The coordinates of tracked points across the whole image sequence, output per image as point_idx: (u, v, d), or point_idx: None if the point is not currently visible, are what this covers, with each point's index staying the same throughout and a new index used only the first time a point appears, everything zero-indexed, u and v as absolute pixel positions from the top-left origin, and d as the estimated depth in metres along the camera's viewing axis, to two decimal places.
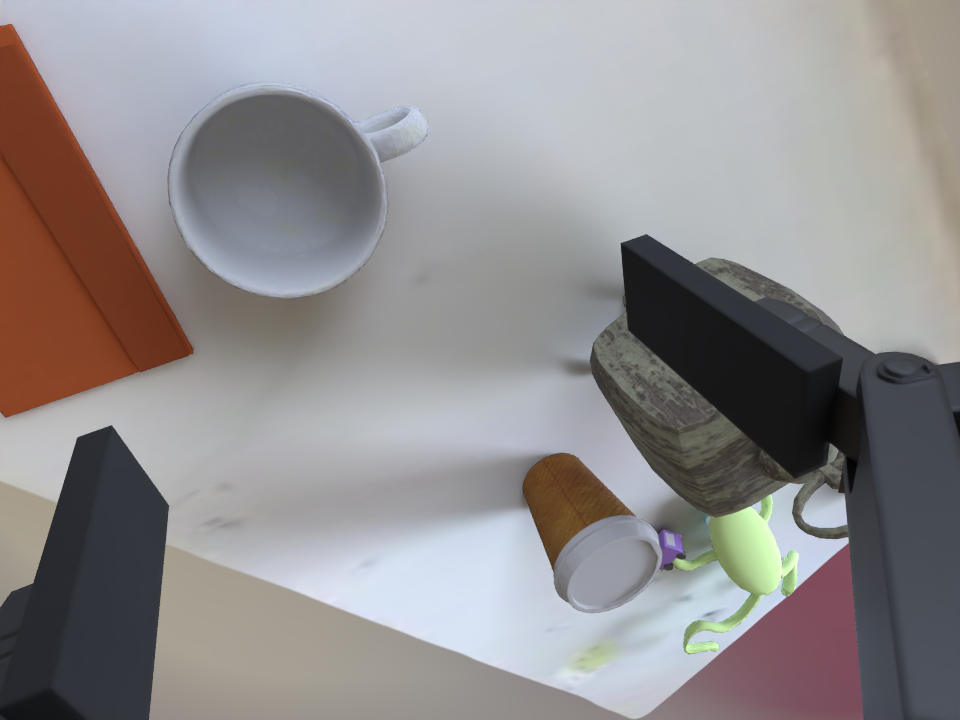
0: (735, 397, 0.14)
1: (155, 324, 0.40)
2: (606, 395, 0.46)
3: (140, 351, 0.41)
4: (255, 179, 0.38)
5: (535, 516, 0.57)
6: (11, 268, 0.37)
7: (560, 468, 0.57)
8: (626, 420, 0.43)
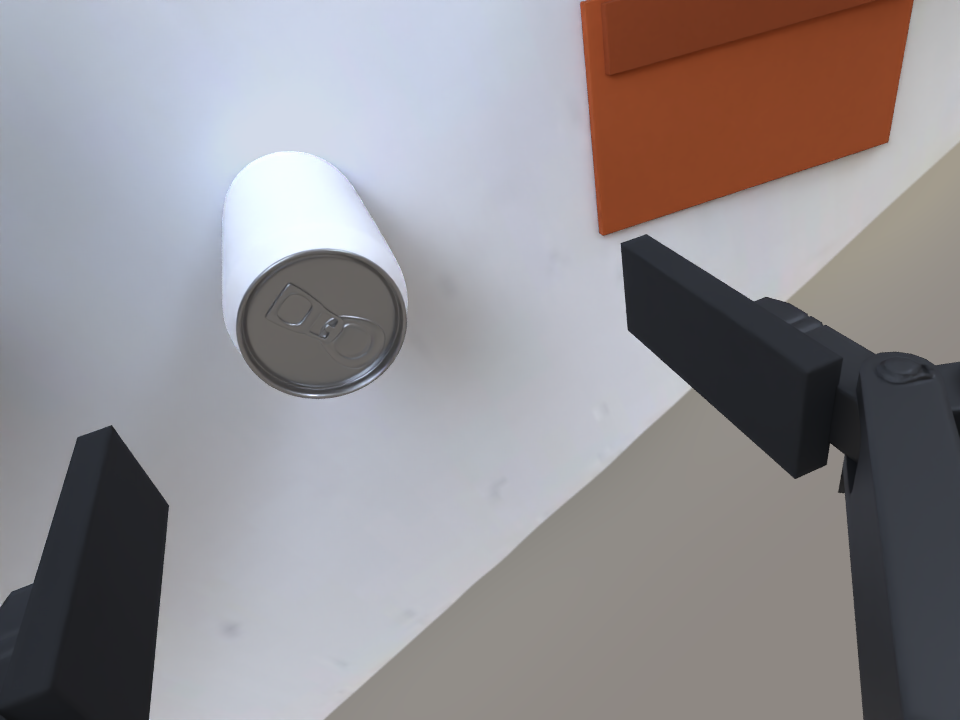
0: (735, 397, 0.14)
1: None
2: None
3: None
4: None
5: None
6: (776, 85, 0.36)
7: None
8: None
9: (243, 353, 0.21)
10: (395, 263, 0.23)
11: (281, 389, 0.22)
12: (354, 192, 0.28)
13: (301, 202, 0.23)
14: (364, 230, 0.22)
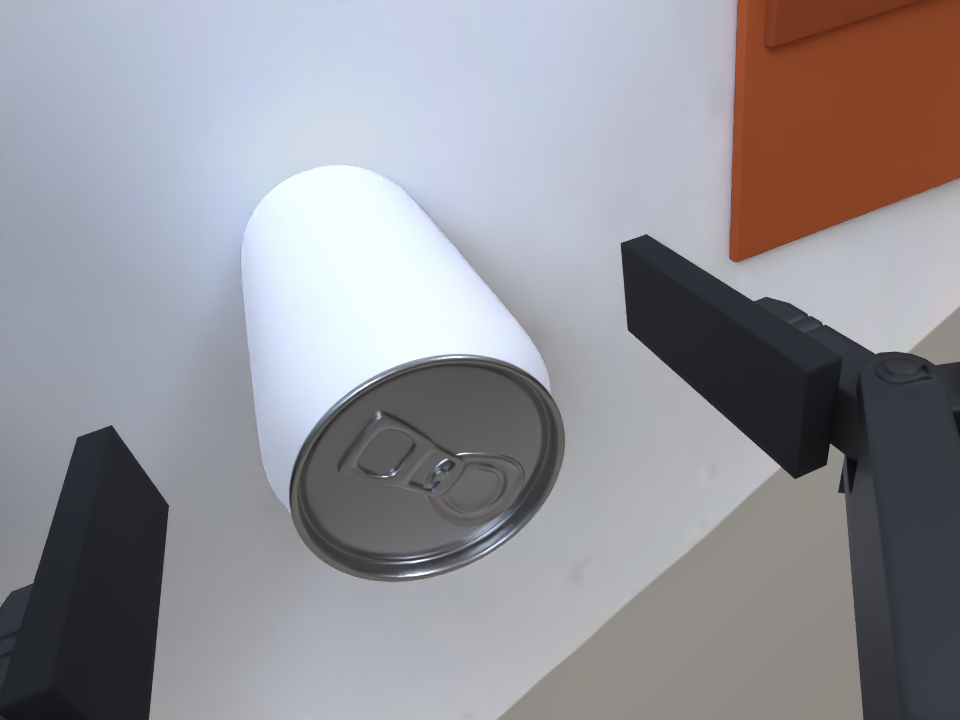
0: (735, 396, 0.14)
1: None
2: None
3: None
4: None
5: None
6: None
7: None
8: None
9: (301, 532, 0.12)
10: (539, 356, 0.14)
11: (360, 573, 0.13)
12: None
13: (382, 260, 0.14)
14: (492, 307, 0.13)
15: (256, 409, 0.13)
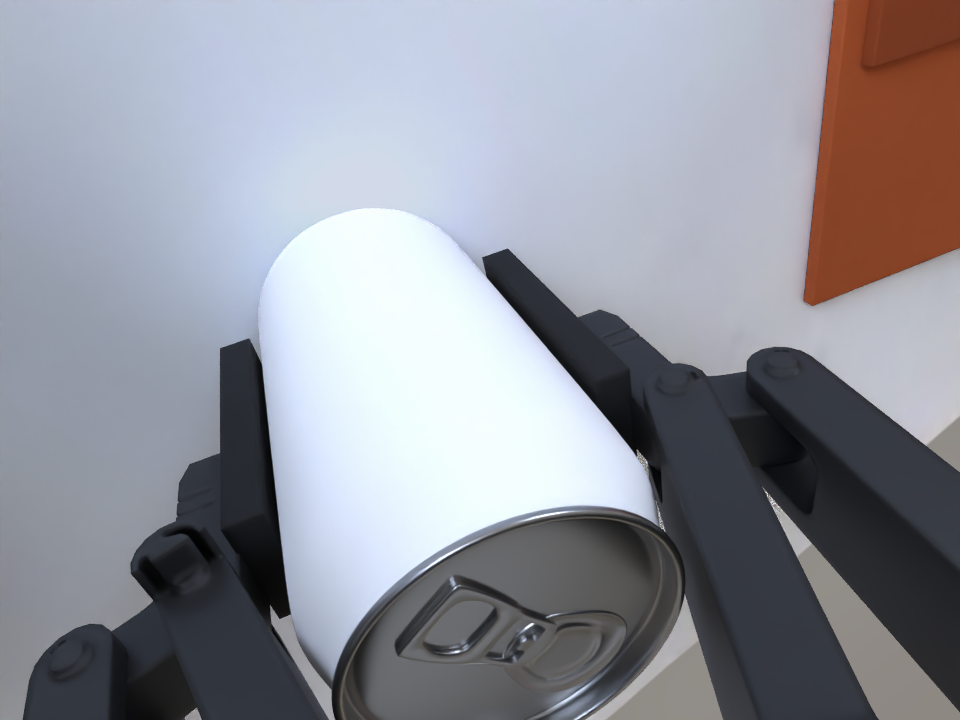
0: None
1: None
2: None
3: None
4: None
5: None
6: None
7: None
8: None
9: None
10: (647, 478, 0.11)
11: None
12: None
13: (444, 352, 0.11)
14: (592, 419, 0.10)
15: (284, 548, 0.10)
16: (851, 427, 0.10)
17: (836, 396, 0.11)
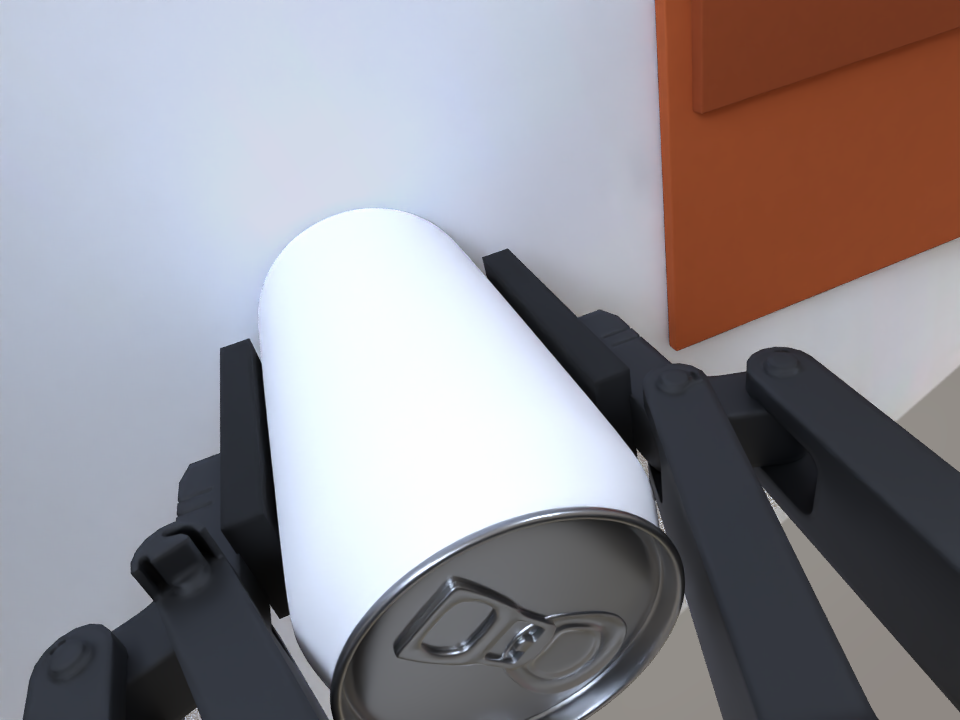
0: None
1: None
2: None
3: None
4: None
5: None
6: (949, 114, 0.23)
7: None
8: None
9: None
10: (647, 478, 0.11)
11: None
12: (491, 283, 0.16)
13: (443, 354, 0.11)
14: (591, 420, 0.10)
15: (283, 549, 0.10)
16: (851, 427, 0.10)
17: (837, 396, 0.11)
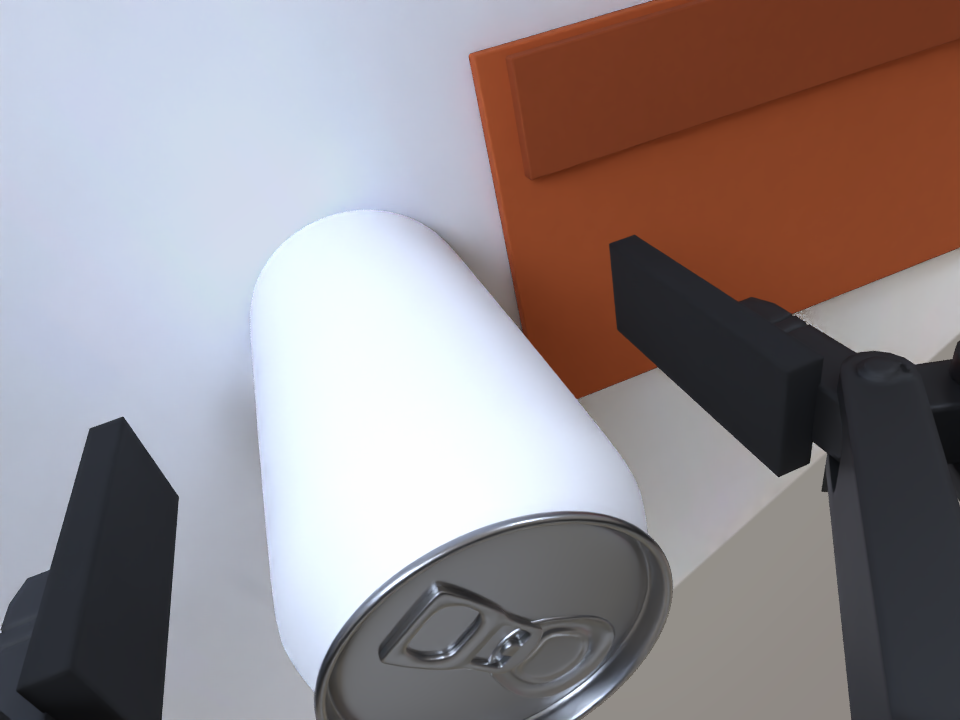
0: (720, 395, 0.14)
1: None
2: None
3: None
4: None
5: None
6: (820, 171, 0.22)
7: None
8: None
9: None
10: (635, 482, 0.11)
11: None
12: None
13: (430, 356, 0.11)
14: (578, 423, 0.10)
15: (269, 553, 0.10)
16: None
17: None
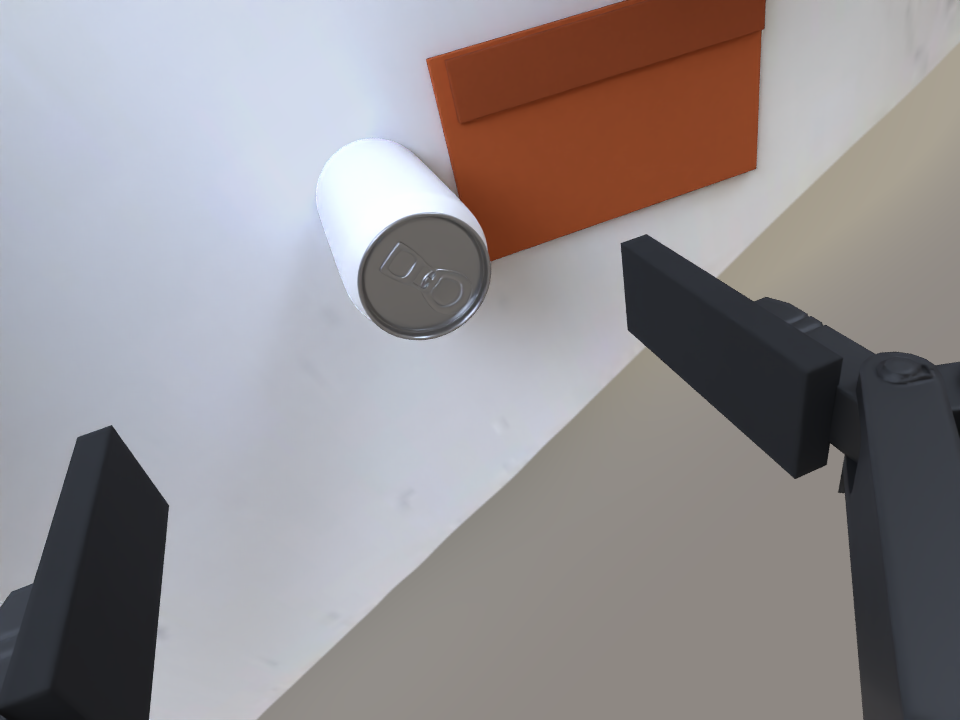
0: (735, 396, 0.14)
1: None
2: None
3: (744, 21, 0.37)
4: None
5: None
6: (632, 123, 0.38)
7: None
8: None
9: (362, 300, 0.26)
10: (479, 226, 0.27)
11: (389, 331, 0.27)
12: None
13: (400, 177, 0.27)
14: (455, 198, 0.27)
15: (338, 250, 0.27)
16: None
17: None
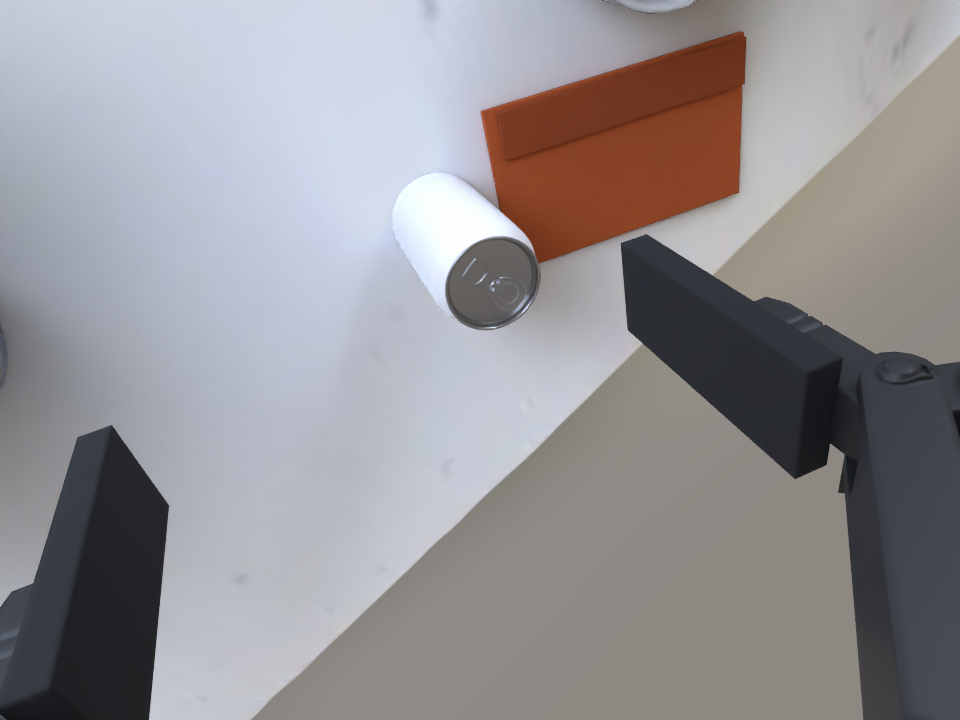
0: (735, 396, 0.14)
1: (711, 60, 0.45)
2: None
3: (728, 78, 0.46)
4: None
5: None
6: (639, 158, 0.48)
7: None
8: None
9: (447, 300, 0.35)
10: (531, 244, 0.37)
11: (464, 323, 0.36)
12: None
13: (471, 208, 0.37)
14: (513, 224, 0.36)
15: (426, 263, 0.36)
16: None
17: None
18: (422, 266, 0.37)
